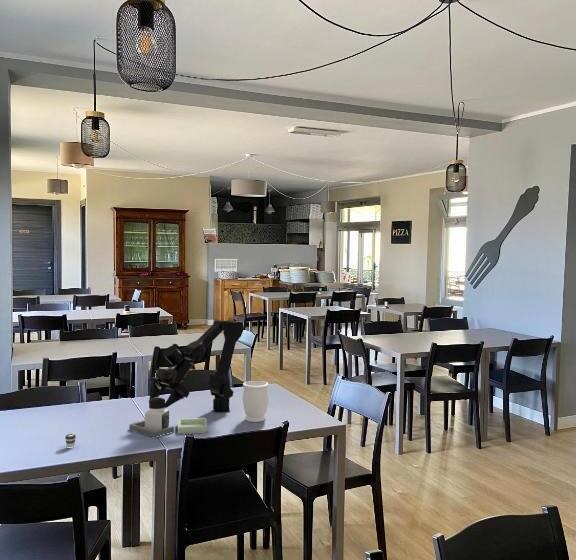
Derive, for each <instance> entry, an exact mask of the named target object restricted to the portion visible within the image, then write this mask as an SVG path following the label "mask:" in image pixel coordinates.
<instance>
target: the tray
mask: <svg viewBox="0 0 576 560" xmlns="http://www.w3.org/2000/svg"><path fill="white" fill-rule="evenodd" d="M207 418H208V417H193V418H191V417H190V418H189V417H188V418H178V421H177V434H178V433H183V434H202V433H203V434H206V433H208V419H207ZM183 434H182V435H183Z"/></svg>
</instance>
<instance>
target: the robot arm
mask: <svg viewBox="0 0 576 560" xmlns="http://www.w3.org/2000/svg"><path fill="white" fill-rule="evenodd" d="M244 330H245V326H244V323H242V322H241V321H237V320H227V321H226V320H220V319H217V320H215V321H214V322H213V323H212V325H211V326H210V327H209V328H208V329H206V331H205V332H204V333H203V334H202V335H201V336H200V337H199V338H198V339H196V340H194V341H192V342H190V343H188V344H187V345H185V346H184V348H180V346H179V345H178V343H173V344H172V345H169V346H168V347H167V348H165V349H164V351H163V354H162V355H163V357H164V358H165V359H166V360H167V361H168V362H169V364H171V365H172V366H174V367H173V368H168V369H165V368H160V367H158V368H157V370H156V374H155V375H154V376H152V377H151V378H150V379H149V384H150V386H151V393H150V396H149V399H148V401H149V400H150V399H152V398H156V397H160V396H161V395H162V394H163V391H165V390H166V389H168V390H170V394H169V396H168V398H166V399H167V400H165V405H164V407H165V409H168V407H170V406H172V405H173V404H175V403H177V402H178V401H181V400H184V399H185V398H186V399H187V398H188V396H189V395H190V389H188V387H187V386H186V385H185V384H184V383H182V382H186V380H187V379H186V376H187V374H188V373H189V371H190V370H192V371H196V366H195V365H196V363H195V362H199V361H200V360H201V359H202V358H203V356H204V355H205V354H206V349H207V348H208V346H209V345H211V344H212V342H214V340H215V339H217V338H218V337H219V335H221V333H222V332H223V338H224V342H223V347H222V349H221V354H220V356H219V357H220V358H219V362H218V365H217V370H216V372H215V373H214V374H210V377H209V380H208V383H207V384H208V389H209V392H210V394H211V396H214V398H213V399H212V409H213V411H214V413H225V412H226V413H227V412H228V413H229V412H230V411H231V410H230V399H231V398H232V397H233V395H234V392H235V391H234V390H233V389H232V388H231V387H230V377H229V370H230V367H231V363H232V360H233V359H232V358H233V356H234V352H235V349H236V348H235V347H236V344H237V342H238V340H239V339H241V337H242V334H243V332H244ZM191 361H192V362H191ZM193 361H195V362H193Z"/></svg>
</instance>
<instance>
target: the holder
mask: <svg viewBox="0 0 576 560" xmlns="http://www.w3.org/2000/svg"><path fill="white" fill-rule="evenodd" d="M143 426H144V427H143ZM128 427H129V430H130V429H131V430H130V431H132V430H134V431H133V432H135V431H136V433H138V432H139V433H138V434H141V433H142V434H141V435H144V436H147V435H148V436H147V437H150V436H151V437H150V438H152V437H154V438H153V439H156V438H155V437H157V436H160V435H163V434H166V435H168V434H167V433H170V432H173V433H175V426H169V427H168V428H165V429H161V430H158V431H152V430H149V429H147V428H145V419H144V420H141V421H137V422H132V423H129V426H128ZM170 434H171V433H170ZM163 436H164V435H163ZM160 437H161V436H160ZM157 438H158V437H157Z"/></svg>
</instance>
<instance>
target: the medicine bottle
mask: <svg viewBox="0 0 576 560" xmlns="http://www.w3.org/2000/svg"><path fill="white" fill-rule="evenodd" d="M149 399H150V398H149ZM149 399H148V410H147V411H146V412H145V413H144V420H145V426H144V428H147V429H149V430H152V431H158V430H161V429H165V428H168V427H170V409H168V408H165V407H164V405H165V403H166V399H165V398H163V397H160V396H159V397H156V398H152V399H150V400H149Z"/></svg>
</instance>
